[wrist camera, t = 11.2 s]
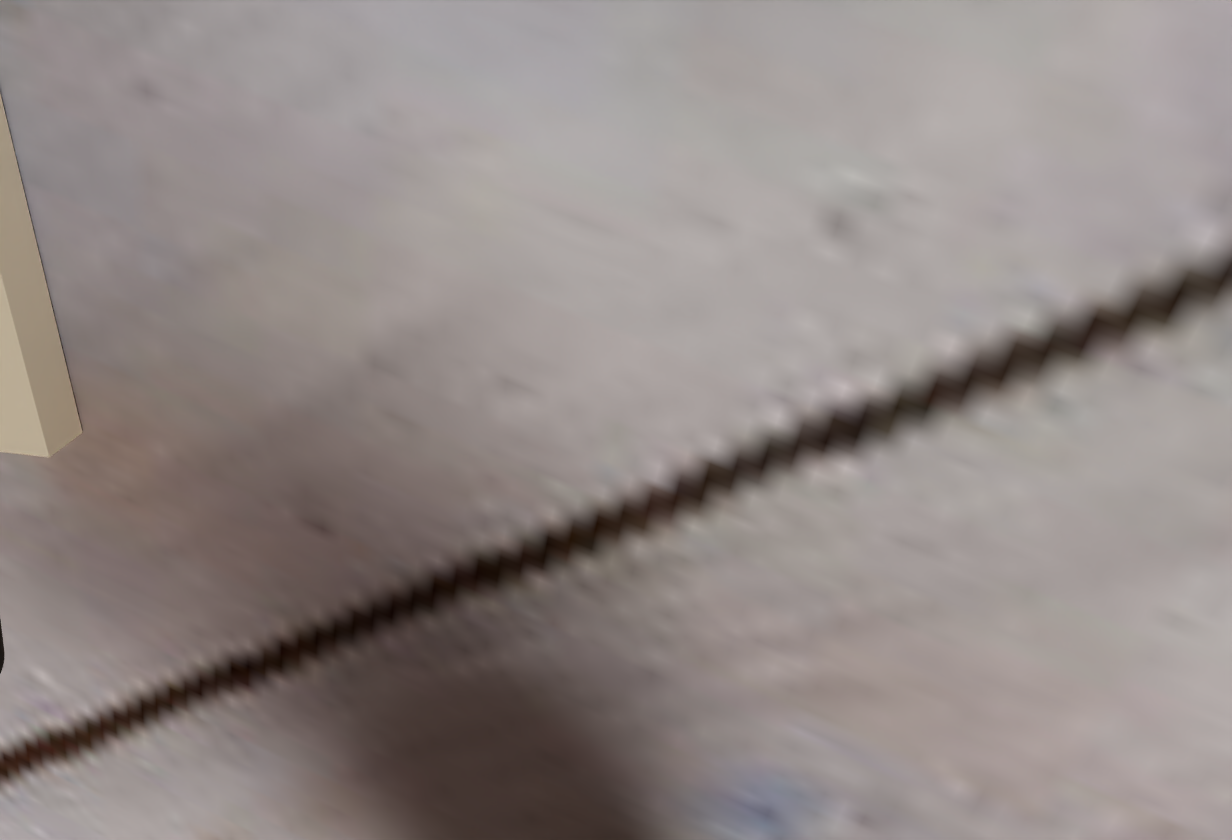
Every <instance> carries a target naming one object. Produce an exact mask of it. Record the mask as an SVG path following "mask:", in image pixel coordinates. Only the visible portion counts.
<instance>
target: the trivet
mask: <svg viewBox="0 0 1232 840" xmlns="http://www.w3.org/2000/svg"><path fill="white" fill-rule="evenodd" d="M82 433H83V432H82V428H81V424H80V420H79V416H78V412H77V407H76V403H75V399H74V395H73V391H72V387H71V383H70V379H69V374H68V370H67V366H66V362H65V358H64V354H63V350H62V346H61V342H60V337H59V333H58V329H57V325H56V321H55V317H54V313H53V309H52V304H51V300H50V296H49V292H48V288H47V284H46V280H45V276H44V271H43V267H42V263H41V259H40V255H39V251H38V247H37V243H36V238H35V234H34V230H33V226H32V222H31V218H30V214H29V210H28V206H27V201H26V197H25V193H24V189H23V185H22V181H21V177H20V173H19V168H18V164H17V160H16V156H15V152H14V148H13V144H12V140H11V135H10V131H9V127H8V123H7V119H6V115H5V111H4V107H3V102H2V98H1V94H0V452H6V453H15V454H23V455H32V456H40V457H51V456H52V455H54V454H55V453H56V452H58V451H59V450H60V449H62V448H63V447H64V446H66V445H67V444H68V443H70V442H71V441H72V440H74V439H75V438H76V437H78V436H79V435H80V434H82Z"/></svg>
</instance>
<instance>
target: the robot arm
mask: <svg viewBox="0 0 1232 840" xmlns="http://www.w3.org/2000/svg"><path fill="white" fill-rule="evenodd" d="M3 663H4V646H3V637H2V629H1V620H0V673H1V670H2V667H3Z"/></svg>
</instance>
